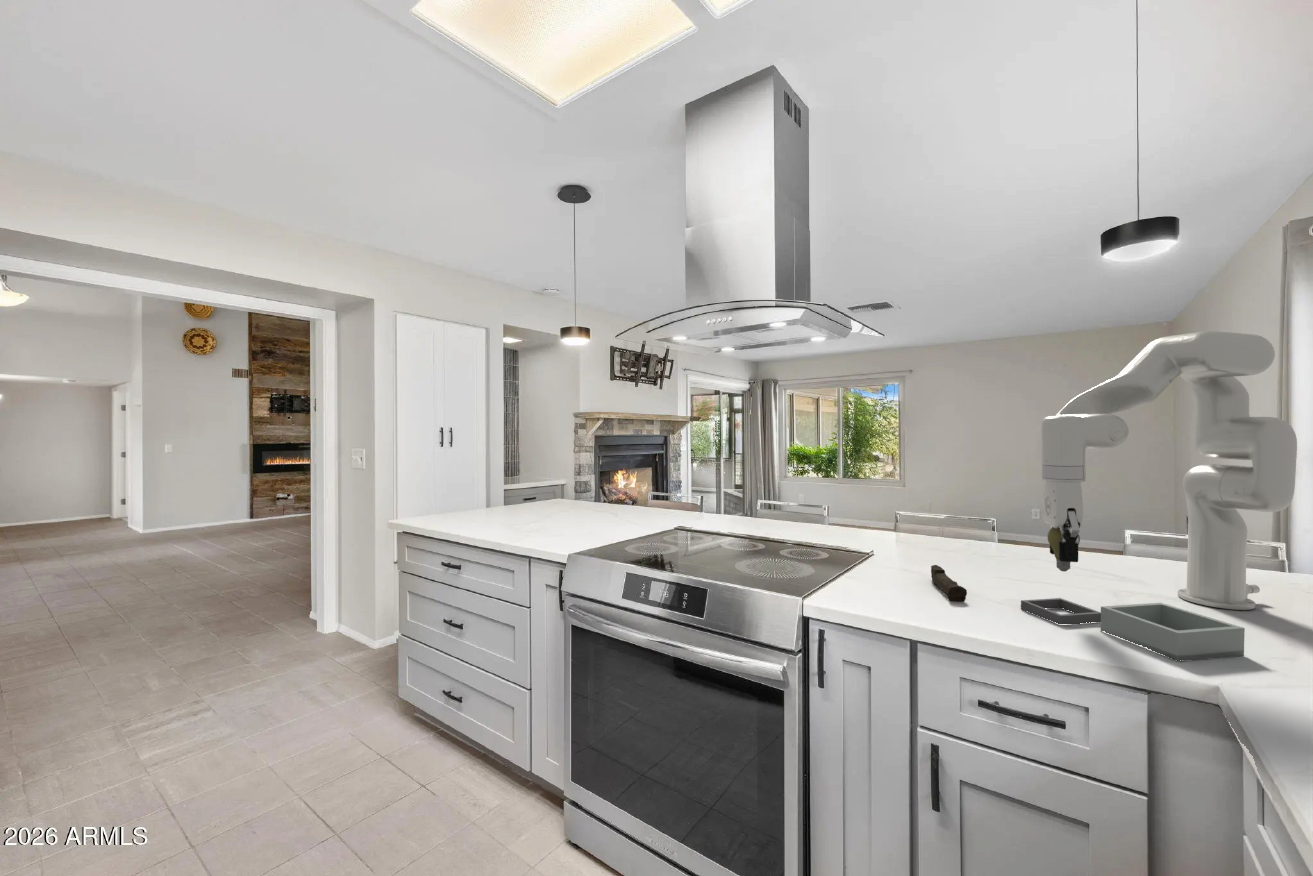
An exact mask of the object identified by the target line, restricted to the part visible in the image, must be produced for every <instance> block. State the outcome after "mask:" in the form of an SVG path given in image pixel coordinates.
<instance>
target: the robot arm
mask: <svg viewBox="0 0 1313 876" xmlns="http://www.w3.org/2000/svg"><path fill="white" fill-rule="evenodd" d="M1275 352H1276V351H1275V349H1274V346H1273V344H1272V343H1271V342H1270V340H1269V339H1267V338H1265V337H1263V336H1261V335H1258V334H1251V333H1243V332H1242V333H1240V332H1239V333H1238V332H1229V331H1218V330H1215V331H1214V330H1211V331H1210V330H1208V331H1207V330H1205V331H1196V332H1189V333H1182V334H1176V335H1175V334H1174V335H1168V336H1167V335H1166V336H1162V337H1159V338H1156V339H1154V340H1153V341H1150V343H1148V344H1146V346H1145V347H1144V348H1143V349H1141V351H1140V352H1139V353H1138V354H1137V355H1136V356H1135V357H1134V358H1133V359H1132V360H1131V361H1130V362H1129V363H1127V365H1126V366H1125V367H1123V369H1122V370H1121V371H1120V372H1119V373H1118V374H1117V375H1115V376H1114V377H1113V378H1111V379H1108V380H1106V381H1104V382H1102V383H1100V384H1098V385H1096V386H1094V387H1091V388H1090V389H1088V390H1085V392H1082V393H1080V394H1078V395H1077V396H1075V397H1074V398H1072V399H1071V400H1070V401H1069V402H1068V403H1066V404H1065V406H1063V407H1062V408H1061V409H1060V410H1059V411H1058V412H1057V413H1056V414H1055V415H1050V416H1049V415H1048V416H1046V417H1044V418H1043V419H1042V421H1041V429H1040V430H1041V480H1042V481H1044V484H1043V490H1042V491H1043V493H1042V512H1041V513H1042V514H1041V515H1042V516H1041V519H1042V521H1043V522H1044V523H1045V524H1047V525H1049V526H1050V527H1049V530H1050V529H1051V528H1052V527H1054V528H1058V527H1060V536H1061V542H1059V560H1060V561H1063V562H1070V563H1078V562H1079V545H1078V542H1079V540H1078V536H1080V534H1079V533H1080V529H1081V528H1083V523H1084V507H1083V506H1084V503H1083V502H1084V501H1083V491H1082V490H1083V489H1082V483H1083V482H1086V481H1087V479H1086V478H1087V477H1086V471H1087V470H1086V469H1087V468H1086V466H1087V465H1086V464H1087V463H1086V450H1087V449H1092V450H1093V449H1094V450H1110V449H1114V448H1116V447H1117V448H1118V447H1119V446H1120V445H1122V444H1124V442H1125V441H1126V440H1127V439H1128V436H1129V432H1130V431H1129V426H1128V424H1127V422H1126V421H1125V420H1124V418H1121V417H1120V416H1118V415H1115V414H1117V413H1121V412H1124V411H1125V412H1126V411H1129V410H1133V409H1136V408H1139V407H1142V406H1146V405H1148V404H1151V403H1152V402H1154V401H1156V400H1157V399H1158V397H1159V396H1160V395H1161V394H1162V393H1163V392H1164V391H1165V390H1166V388H1168V387H1169V386H1170V385H1171V384H1172V383H1173V382H1174V381H1175V380H1176V379H1177V378H1178V377H1180V378H1181V379H1182V380H1183V381H1184V382H1185V383H1186V384H1187V385H1188V386H1189V387H1190V389H1191V391H1192V392H1193V395H1194V396H1195V397H1194V398H1195V424H1194V425H1195V426H1194V445H1195V449H1196V452H1198V453H1199V455H1201V456H1203V457H1207V458H1210V459H1211V458H1212V459H1213V458H1214V459H1223V460H1236V461H1237V460H1238V461H1239V460H1243V461H1251V463H1252V466H1245V465H1242V466H1241V465H1233V464H1231V465H1230V464H1216V463H1215V464H1201V465H1197V466H1193V467H1191V468H1190V469H1189V470H1187V471H1186V473H1185V474H1184V477H1183V480H1182V487H1183V488H1182V489H1183V493H1184V496H1185V501H1186V505H1187V518H1188V519H1187V522H1188V523H1187V563H1186V588H1180V589H1178V590H1177V596H1178V598H1181V599H1182V600H1184V601H1187V602H1191V603H1193V604H1197V605H1201V606H1206V607H1213V608H1216V609H1223V610H1224V609H1225V610H1234V611H1235V610H1237V611H1251V610H1254V609H1256V607H1257V605H1256V602H1255V601H1254V600H1252V599H1250V598H1248V595H1249V594H1258V593H1260V592H1261V589H1260V587H1259V586H1258V585H1257V584H1248V583H1247V556H1248V555H1247V553H1248V552H1247V549H1248V547H1247V546H1248V527H1247V525H1246V522H1245V519H1244V518H1243V517H1242V515H1241V514H1240V512H1239V511H1238V510H1244V511H1253V512H1254V511H1255V512H1264V513H1277V512H1281V511H1284V510H1285V509H1287V508H1288V506H1290V504H1291V503H1292V500H1293V498H1294V494H1295V488H1296V474H1297V472H1296V470H1297V457H1298V456H1297V455H1298V439H1297V435H1296V432H1295V430H1294V428H1293V426H1292V425H1291V423H1289V422H1287V420H1285V419H1281V418H1278V417H1273V416H1251V415H1250V394H1249V392H1248V389H1246V387H1245V386H1244V384H1243V383H1242V382H1241V381H1239V379H1237V377H1247V376H1256V375H1259V374H1262V373H1263V372H1266V370H1267V369H1269V368H1270V367H1271V366H1272V364H1273V363H1274V360H1275V356H1276V354H1275ZM1063 525H1068V526H1069V527H1063ZM1065 531H1067V533H1066V535H1065ZM1068 531H1069V532H1068ZM1078 534H1079V535H1078ZM1049 553H1050V554H1051V555H1054V551H1053V549H1052V547H1051V546H1050V545H1049Z"/></svg>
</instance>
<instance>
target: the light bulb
mask: <svg viewBox="0 0 1313 876" xmlns="http://www.w3.org/2000/svg"><path fill="white" fill-rule="evenodd" d="M1063 527H1069V525H1063ZM1068 532H1069V531H1068ZM1066 533H1067V531H1065V535H1066ZM1078 535H1079V536H1078V540H1079V542H1078V546H1079V545H1080V542H1081V537H1080V534H1079V533H1078ZM1047 541H1048V544H1049V547H1050V546H1051V547H1052V549H1053V551H1054V554H1053V556H1054V557H1055V561H1056V568H1057V569H1058V570H1060V572H1067V571H1069V570H1070V569H1071V562H1063V561H1060V560H1059V542H1061V536H1060V527H1058V528H1054V527H1052V528H1051V529H1050V528H1049V530H1048V532H1047Z"/></svg>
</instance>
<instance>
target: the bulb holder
mask: <svg viewBox="0 0 1313 876" xmlns="http://www.w3.org/2000/svg"><path fill="white" fill-rule="evenodd" d="M1045 608H1055V609H1061V608H1064V609H1065V610H1064V609H1063V610H1064V611H1066V610H1069V611H1072V612H1074V613H1075V614H1074V613H1072V612H1071V613H1064V614H1061V613H1058V612H1055V611H1053V610H1052V609H1045ZM1021 609H1022V611H1024V610H1025V611H1024V612H1026V611H1028V612H1027V613H1029V612H1030V613H1029V614H1031V613H1033V614H1035V615H1034V616H1036V615H1038V616H1040V617H1039V618H1041V617H1043V618H1045V619H1044V620H1046V619H1048V620H1051V621H1053V622H1056V623H1058V624H1078V625H1081V624H1080V623H1086V622H1087V623H1089V622H1090V623H1091V622H1101V611H1098V610H1095V609H1092V608H1089V607H1086V606H1084V605H1081V604H1079V603H1076V602H1072V601H1069V600H1067V599H1064V598H1061V597H1055V598H1054V597H1053V598H1052V597H1051V598H1038V599H1024V600H1020V610H1021ZM1069 611H1068V612H1069ZM1033 614H1032V615H1033ZM1038 616H1037V617H1038ZM1043 618H1042V619H1043ZM1048 620H1047V621H1048ZM1053 622H1052V623H1053ZM1058 624H1057V625H1058Z"/></svg>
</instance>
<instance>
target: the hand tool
mask: <svg viewBox="0 0 1313 876" xmlns="http://www.w3.org/2000/svg"><path fill="white" fill-rule="evenodd" d="M930 573H931V575H930V577H931V582H932V584H933V585H934V586H938V588H939V589H941V590H942V592H943V593H944V594H946V596H947V599H948V600H949V602H951V603H952V602H953V603H963V602H965V601H966V598H967V595H968V592H967V591H968V590H967V589H966V588H965V587H964V586H961V585H959V584H958V582H957V581H955V580H953V579H952V578H950V577H949V576H948V575H947V574H946V570H945V569H943V567H941V566H940V565H938V564H933V565H930Z"/></svg>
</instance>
